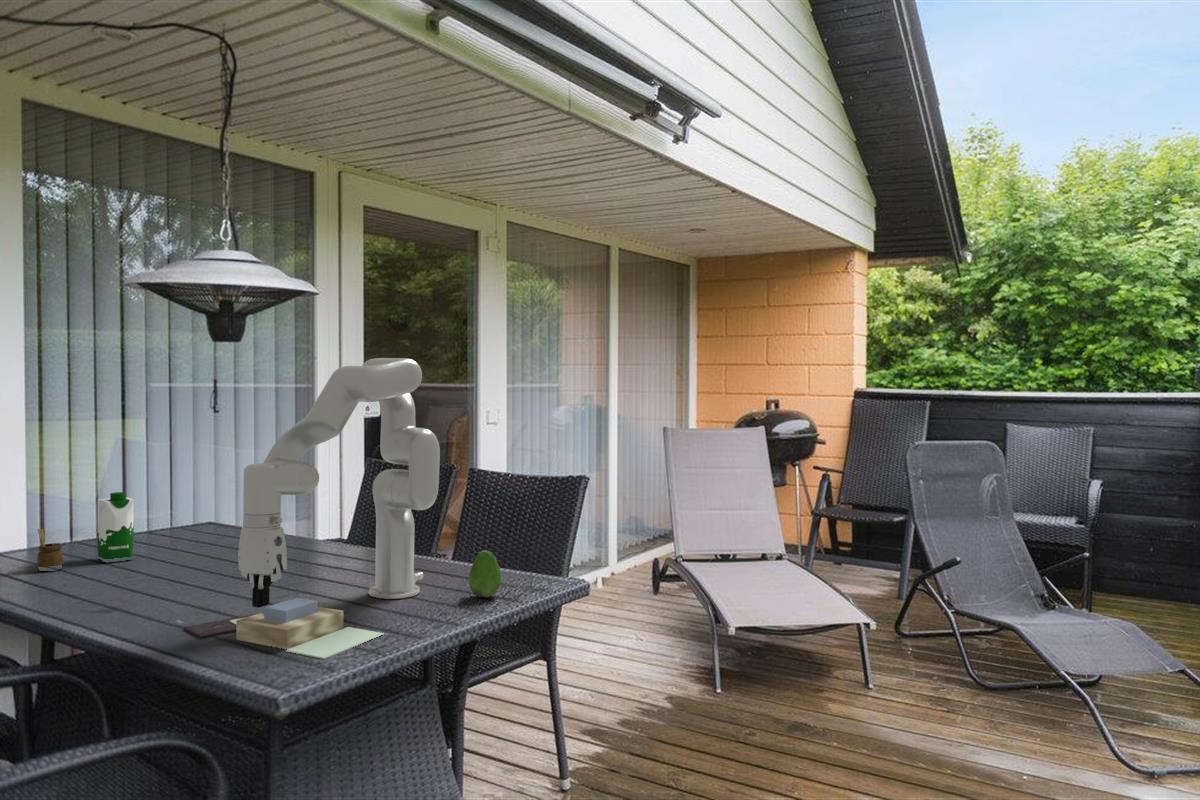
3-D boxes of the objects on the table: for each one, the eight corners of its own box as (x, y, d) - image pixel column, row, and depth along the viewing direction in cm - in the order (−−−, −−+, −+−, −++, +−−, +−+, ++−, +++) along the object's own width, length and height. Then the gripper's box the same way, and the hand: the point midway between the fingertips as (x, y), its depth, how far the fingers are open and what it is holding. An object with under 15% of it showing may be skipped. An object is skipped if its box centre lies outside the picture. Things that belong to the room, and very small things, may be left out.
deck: (294, 620, 187) (294, 602, 186) (343, 629, 181) (343, 610, 181) (236, 639, 172) (236, 620, 172) (287, 649, 166) (287, 629, 166)
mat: (348, 628, 181) (348, 626, 181) (385, 634, 177) (385, 633, 177) (285, 651, 165) (285, 650, 165) (324, 659, 161) (324, 657, 161)
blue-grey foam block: (296, 608, 182) (296, 597, 182) (317, 612, 179) (317, 601, 179) (264, 618, 173) (264, 607, 173) (285, 622, 171) (286, 611, 171)
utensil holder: (68, 568, 232) (68, 525, 232) (48, 573, 226) (48, 529, 226) (51, 567, 234) (51, 524, 234) (30, 572, 228) (31, 528, 227)
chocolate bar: (183, 627, 178) (266, 611, 191) (183, 631, 178) (266, 616, 191) (200, 636, 172) (284, 619, 185) (200, 641, 172) (284, 624, 185)
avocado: (487, 602, 205) (487, 554, 205) (462, 598, 209) (463, 550, 209) (507, 596, 212) (507, 549, 212) (482, 591, 216) (483, 545, 216)
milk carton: (103, 564, 238) (103, 495, 238) (93, 559, 244) (94, 491, 244) (136, 560, 244) (137, 492, 244) (126, 555, 251) (127, 489, 250)
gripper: (301, 521, 180) (299, 606, 180) (250, 515, 186) (249, 597, 186) (274, 526, 173) (273, 614, 173) (222, 520, 179) (221, 605, 180)
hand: (260, 605), depth 180 cm, fingers closed
